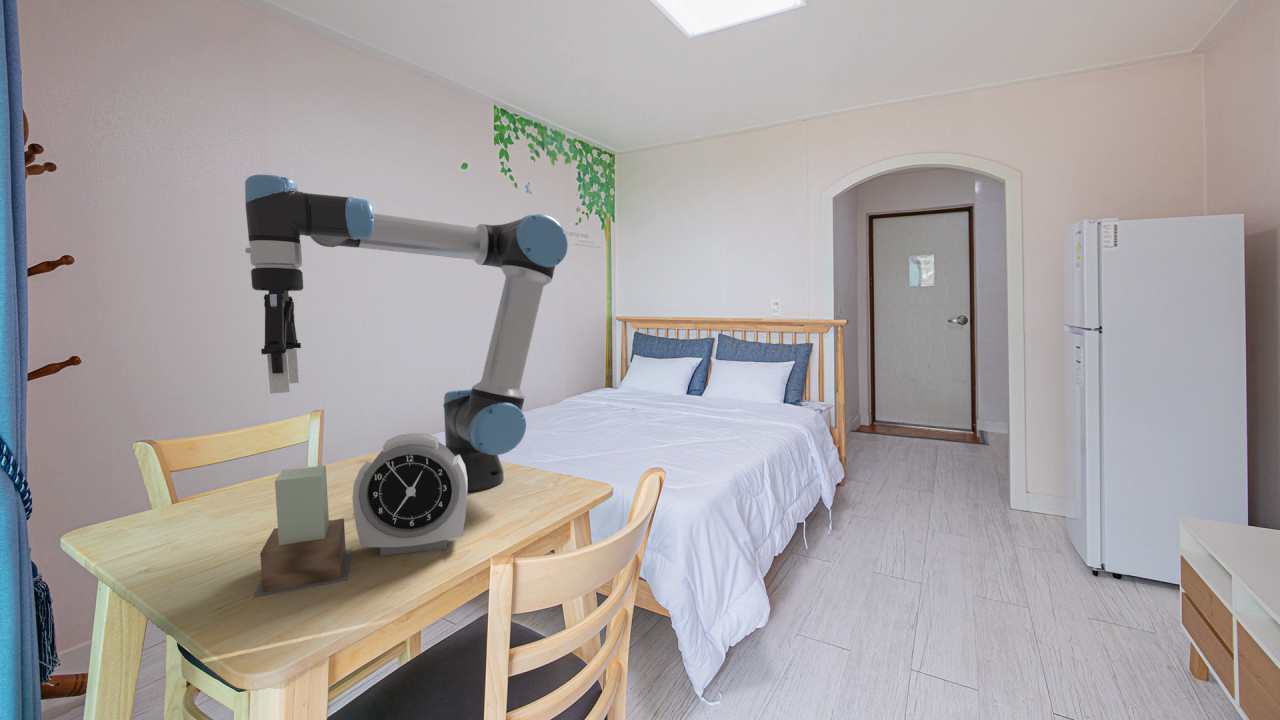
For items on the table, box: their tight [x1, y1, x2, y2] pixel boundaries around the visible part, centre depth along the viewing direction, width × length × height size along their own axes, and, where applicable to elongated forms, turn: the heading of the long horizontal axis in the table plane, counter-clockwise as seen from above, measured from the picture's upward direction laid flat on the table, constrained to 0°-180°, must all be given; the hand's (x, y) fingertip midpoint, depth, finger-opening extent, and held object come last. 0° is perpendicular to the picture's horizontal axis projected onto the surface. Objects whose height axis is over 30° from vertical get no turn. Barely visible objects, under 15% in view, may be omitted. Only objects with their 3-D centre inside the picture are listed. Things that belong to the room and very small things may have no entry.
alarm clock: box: [351, 432, 468, 557], centre depth 94 cm, size 18×8×20 cm, turn 106°
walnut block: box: [260, 518, 347, 593], centre depth 85 cm, size 10×10×6 cm
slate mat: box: [252, 548, 353, 599], centre depth 85 cm, size 12×12×1 cm
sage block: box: [274, 465, 330, 545], centre depth 84 cm, size 6×6×10 cm
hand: (285, 387), depth 96 cm, fingers open, 13 cm apart
